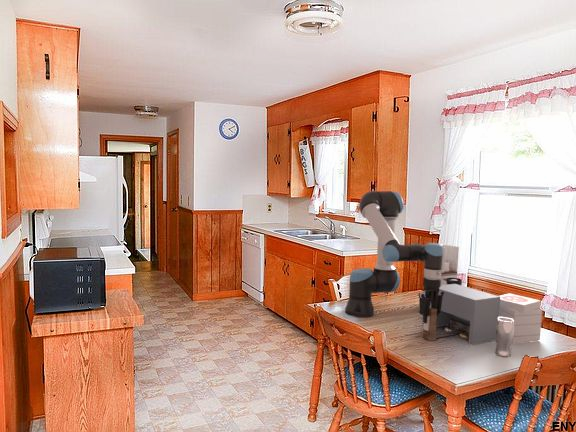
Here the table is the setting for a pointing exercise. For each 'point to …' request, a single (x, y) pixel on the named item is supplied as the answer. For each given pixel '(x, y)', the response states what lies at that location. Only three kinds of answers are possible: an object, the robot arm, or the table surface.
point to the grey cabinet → (470, 311)
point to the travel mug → (454, 281)
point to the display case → (449, 263)
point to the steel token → (449, 329)
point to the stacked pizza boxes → (522, 316)
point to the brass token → (464, 335)
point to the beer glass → (504, 336)
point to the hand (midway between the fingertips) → (429, 329)
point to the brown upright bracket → (432, 332)
